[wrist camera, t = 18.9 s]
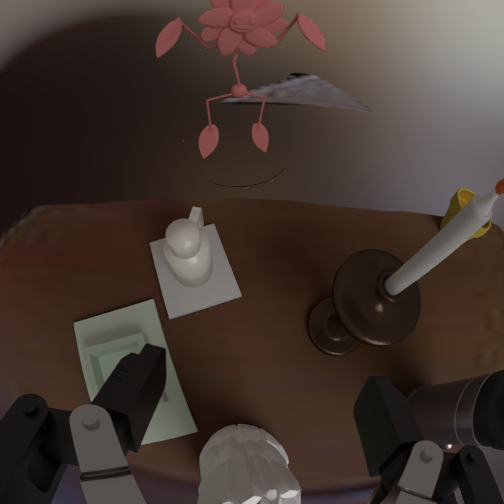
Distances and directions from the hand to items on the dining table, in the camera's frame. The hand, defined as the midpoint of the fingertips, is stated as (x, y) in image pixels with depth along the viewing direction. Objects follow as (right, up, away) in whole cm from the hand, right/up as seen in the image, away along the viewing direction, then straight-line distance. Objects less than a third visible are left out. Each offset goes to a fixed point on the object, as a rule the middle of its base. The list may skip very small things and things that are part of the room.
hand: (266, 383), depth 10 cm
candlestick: (+12, -6, +30) cm, 33 cm away
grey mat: (-10, +2, +33) cm, 34 cm away
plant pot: (+43, +9, +41) cm, 60 cm away
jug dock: (-18, -13, +24) cm, 33 cm away
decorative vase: (-2, -23, +20) cm, 31 cm away
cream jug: (-9, +4, +33) cm, 34 cm away
